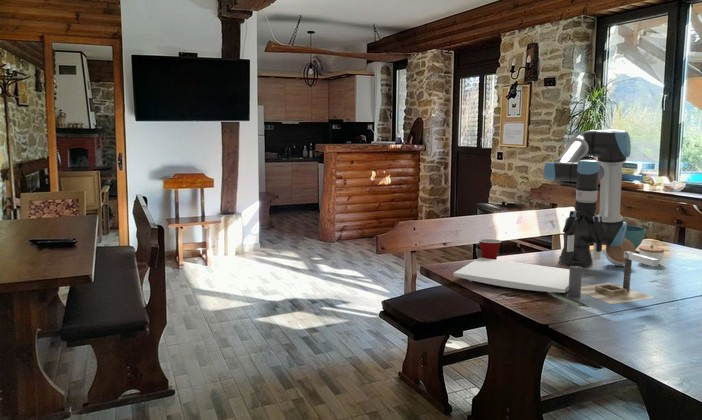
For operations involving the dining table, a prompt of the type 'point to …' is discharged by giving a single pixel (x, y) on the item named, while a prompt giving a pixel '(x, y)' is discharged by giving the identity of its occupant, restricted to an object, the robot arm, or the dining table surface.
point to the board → (516, 275)
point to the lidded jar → (652, 252)
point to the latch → (641, 258)
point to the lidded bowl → (618, 252)
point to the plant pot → (635, 235)
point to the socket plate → (615, 290)
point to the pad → (568, 300)
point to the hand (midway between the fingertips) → (582, 255)
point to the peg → (575, 281)
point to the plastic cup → (489, 248)
